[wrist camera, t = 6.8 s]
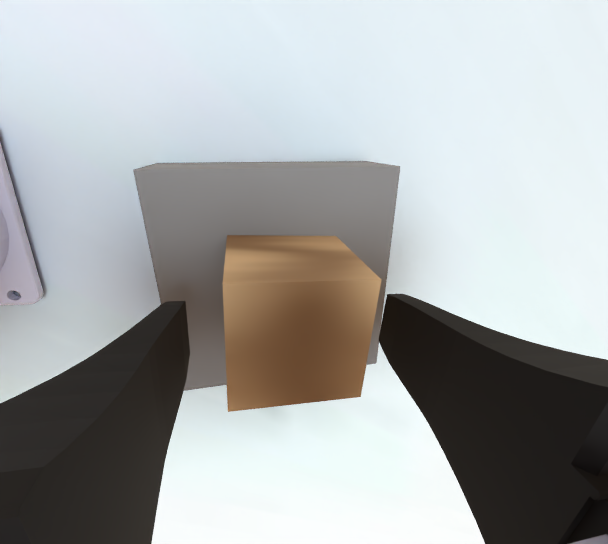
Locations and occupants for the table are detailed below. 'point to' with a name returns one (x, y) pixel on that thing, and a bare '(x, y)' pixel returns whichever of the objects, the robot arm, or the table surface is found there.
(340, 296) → the oak cube
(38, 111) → the table surface
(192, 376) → the gray block
